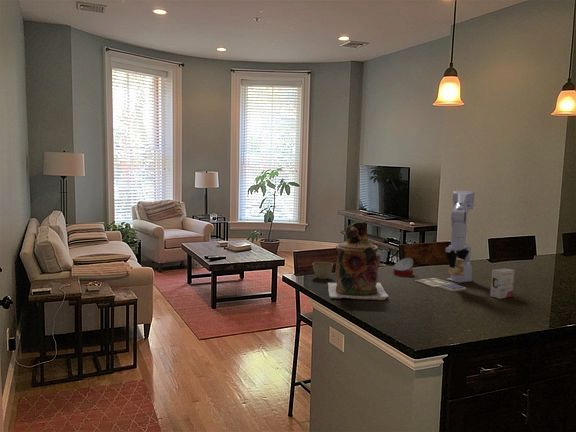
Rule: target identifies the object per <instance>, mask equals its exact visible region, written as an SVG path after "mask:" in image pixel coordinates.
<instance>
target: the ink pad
mask: <svg viewBox="0 0 576 432" xmlns="http://www.w3.org/2000/svg"><path fill="white" fill-rule="evenodd" d="M439 288H440V289H444V290H445V291H446V290H447V291H450V292H461V291H466V290H467V287H465V286H462V285H460V284H456V283H455V284H445V285H440V287H439Z"/></svg>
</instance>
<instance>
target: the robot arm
mask: <svg viewBox="0 0 576 432" xmlns="http://www.w3.org/2000/svg"><path fill="white" fill-rule="evenodd" d="M475 195H476V194H475V191H474V190H456V189H454V191H453V192H452V207H453V210H452V211H451V215H450V222H451V225H450V226H451V233H450V234H451V235H450V244H449V245H448V247H445V252H444V253H445V255H446V257H447V260H448V261H447V262H448V265H449V266H450V267H451V268H455V263H456V258H460V259H463V260H464V268H463V272H464V275H457V276H454V275H451V274H450V277H448V278H446V280H448V281H450V282H451V281H452V282H455V283H468V282H473V279H472V276H473V275H472V273H473V272H472V271H473V267H472V265H471V263H470V262H471V260H472V259H471V257H472V256H471V255H472V251H471V250H472V248H471V246H470V245H469V244H468V243H467V242H466V239H467V238H466V237H467V227H468V225H467V224H468V216H469V215H468V214H469V212H470V211H471V210H473V209H474V207H475V206H474V205H475V204H474V203H475V197H476V196H475Z"/></svg>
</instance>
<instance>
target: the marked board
mask: <svg viewBox="0 0 576 432" xmlns="http://www.w3.org/2000/svg"><path fill="white" fill-rule="evenodd" d="M414 282H415V283H419V284H422V285H424V286H428V287H431V288H440V285H445V284H456V282H455V283H454V282H451V281H449V280H448V281H446V280H444V279H441V278H437V277H431V278H422V279H415V280H414Z"/></svg>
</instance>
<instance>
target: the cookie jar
mask: <svg viewBox="0 0 576 432" xmlns="http://www.w3.org/2000/svg"><path fill="white" fill-rule="evenodd" d="M345 230H346V231H345V232H346V236H347V239H346V240H344V242H340V243H339V244H337V245H335V249H336V251H337V258H336V265H335V272H334V273H335V282H327V287H328V289H327V291H328V296H329V298H330V299H345V298H347V299H352V300H373V301H375V300H377V301H384V300H386V299H387V298H389V294H387V292H386V291H385V289H384V287H383V286H382V283H381V282H378V281H379V274H378V273H379V267H380V265H381V255H378V254H377V253H378V251H379V246H378V245H376V244H373V243H372V242H371V240H369V238H368V237H369V236H368V231H369V230H368V228H367V219H365V220H364V221H357V222H353V223H351V224H349V225H347V227H346V229H345Z"/></svg>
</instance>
